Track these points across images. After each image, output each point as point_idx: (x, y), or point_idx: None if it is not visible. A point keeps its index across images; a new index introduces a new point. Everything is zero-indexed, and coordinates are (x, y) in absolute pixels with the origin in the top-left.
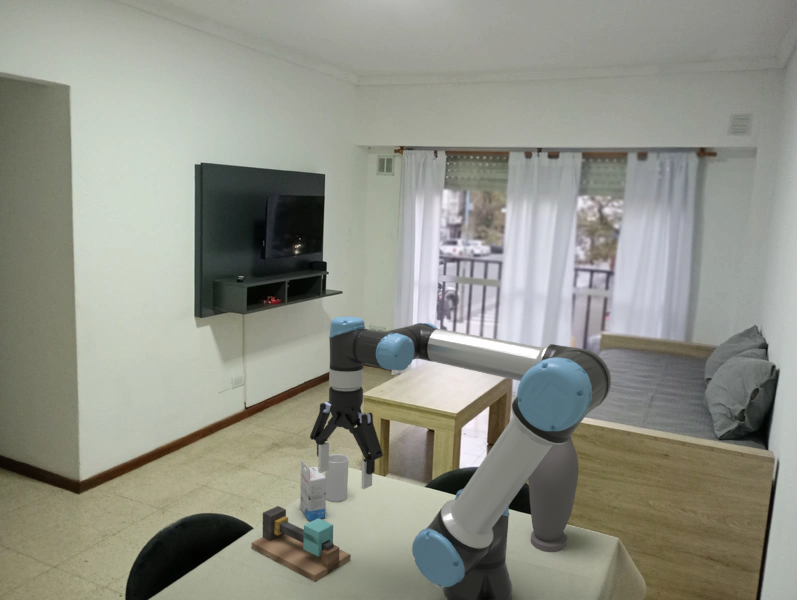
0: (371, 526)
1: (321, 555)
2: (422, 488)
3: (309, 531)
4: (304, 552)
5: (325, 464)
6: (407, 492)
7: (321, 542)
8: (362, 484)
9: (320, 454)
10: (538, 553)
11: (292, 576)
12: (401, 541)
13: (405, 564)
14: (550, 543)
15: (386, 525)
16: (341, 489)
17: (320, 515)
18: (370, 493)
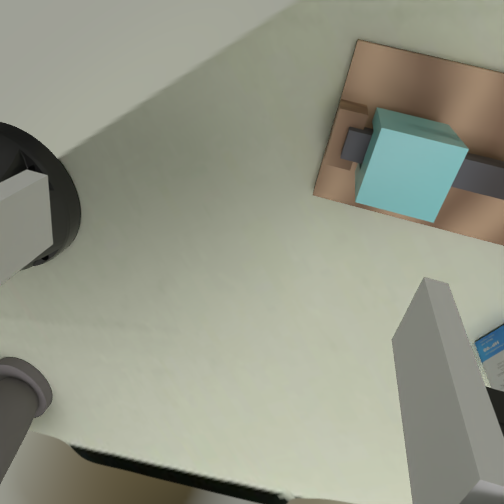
0: (338, 342)
1: (367, 112)
2: (304, 492)
3: (432, 136)
4: None
5: (410, 349)
6: (326, 475)
7: (374, 130)
8: (19, 182)
9: (460, 390)
10: (14, 348)
11: (441, 28)
12: (243, 308)
13: (186, 227)
14: (1, 373)
15: (306, 355)
16: None
17: (489, 341)
18: (406, 460)
